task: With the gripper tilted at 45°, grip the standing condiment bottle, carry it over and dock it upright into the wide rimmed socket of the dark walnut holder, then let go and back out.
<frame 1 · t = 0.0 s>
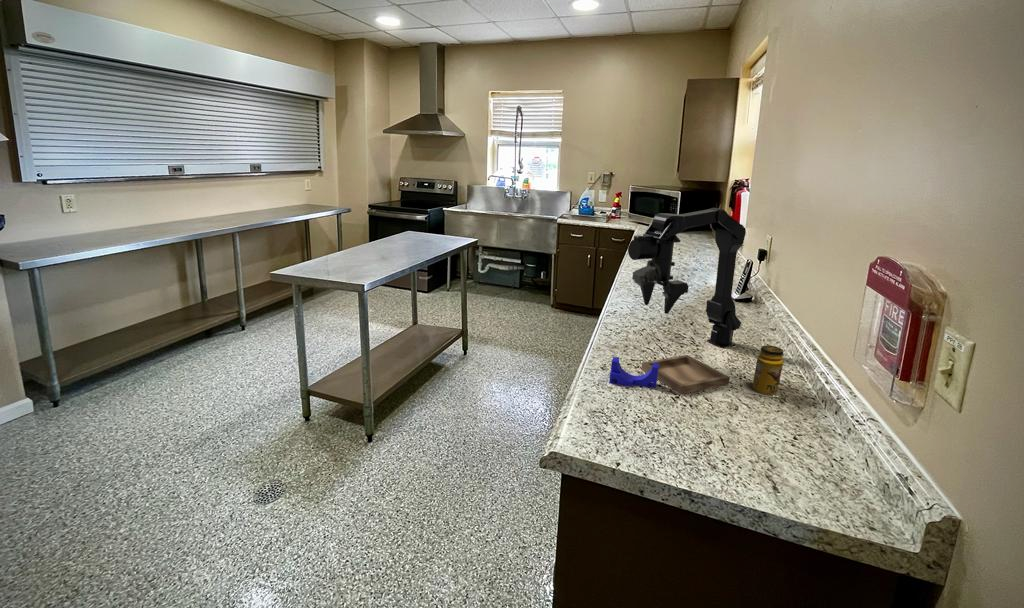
hand: (656, 309, 150), 15 cm above the counter, tool pointing down, fingers open, 9 cm apart
condiment: (760, 390, 133), on the counter
cable clip: (632, 384, 135), on the counter
dock holder: (683, 376, 139), on the counter
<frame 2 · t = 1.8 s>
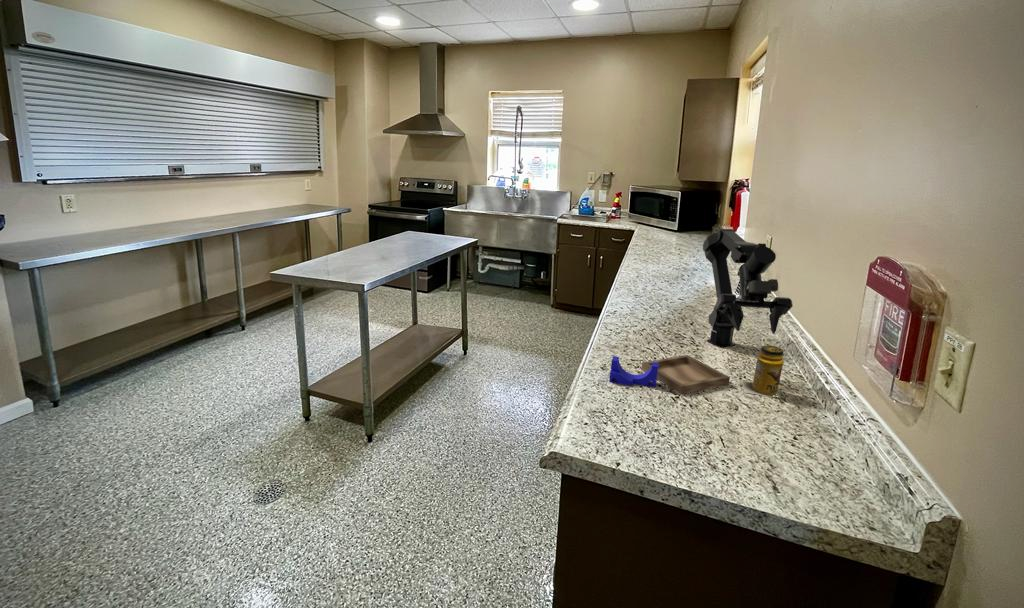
hand: (756, 331, 137), 13 cm above the counter, tool tilted 45°, fingers open, 9 cm apart
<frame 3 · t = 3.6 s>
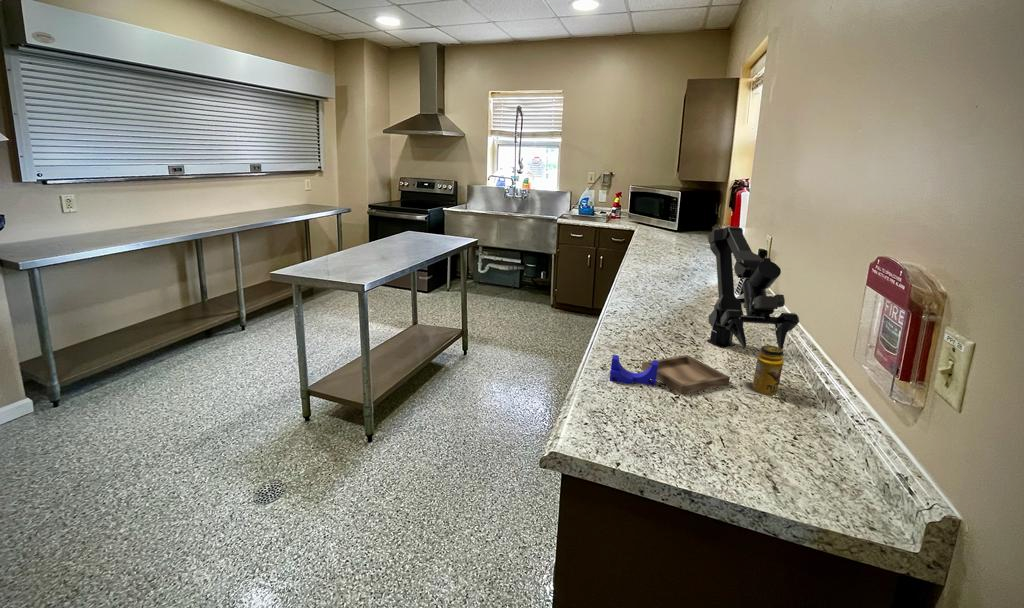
hand: (763, 348, 133), 10 cm above the counter, tool tilted 45°, fingers open, 9 cm apart
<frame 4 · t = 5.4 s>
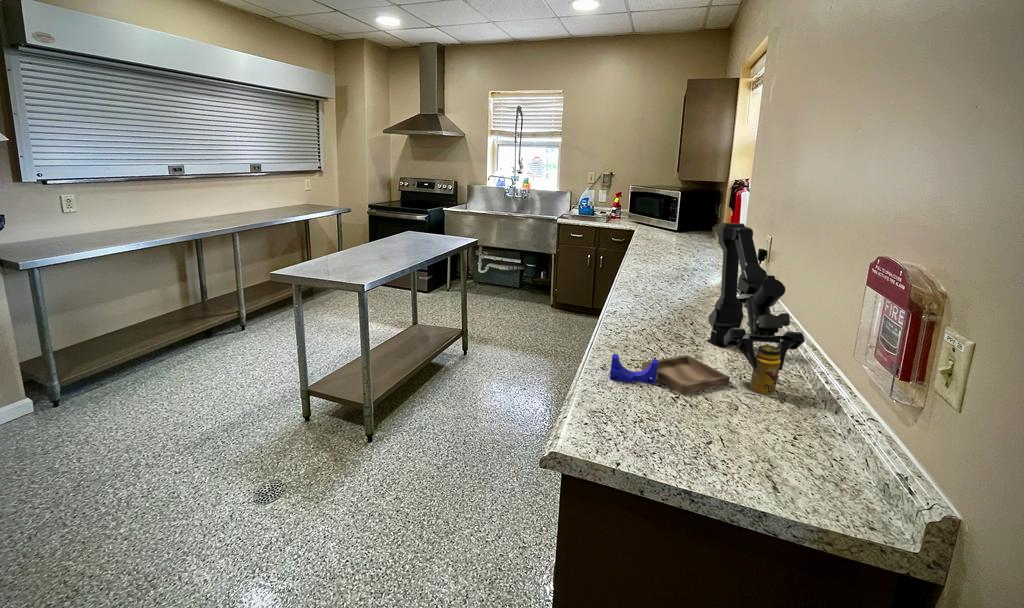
hand: (767, 368, 130), 7 cm above the counter, tool tilted 45°, fingers closed on condiment, 6 cm apart
condiment: (758, 390, 133), on the counter, touching gripper
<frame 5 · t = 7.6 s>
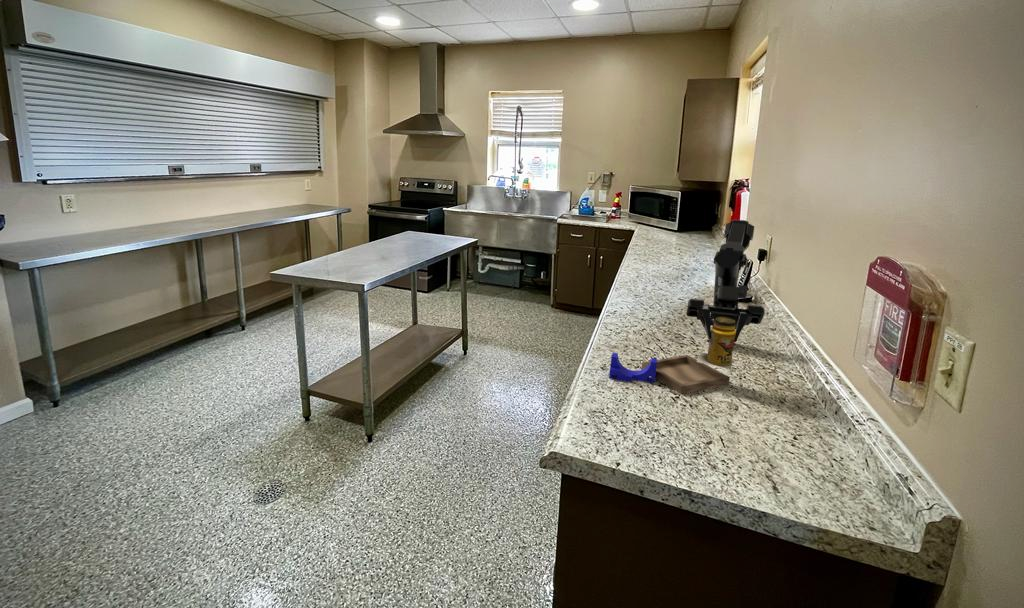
hand: (722, 339, 130), 13 cm above the counter, tool tilted 45°, fingers closed on condiment, 6 cm apart
condiment: (715, 361, 134), point 6 cm above the counter, touching gripper
when the fingers open (8 cm above the counter, at t = 9.8 s): condiment stays where it is, resting on dock holder.
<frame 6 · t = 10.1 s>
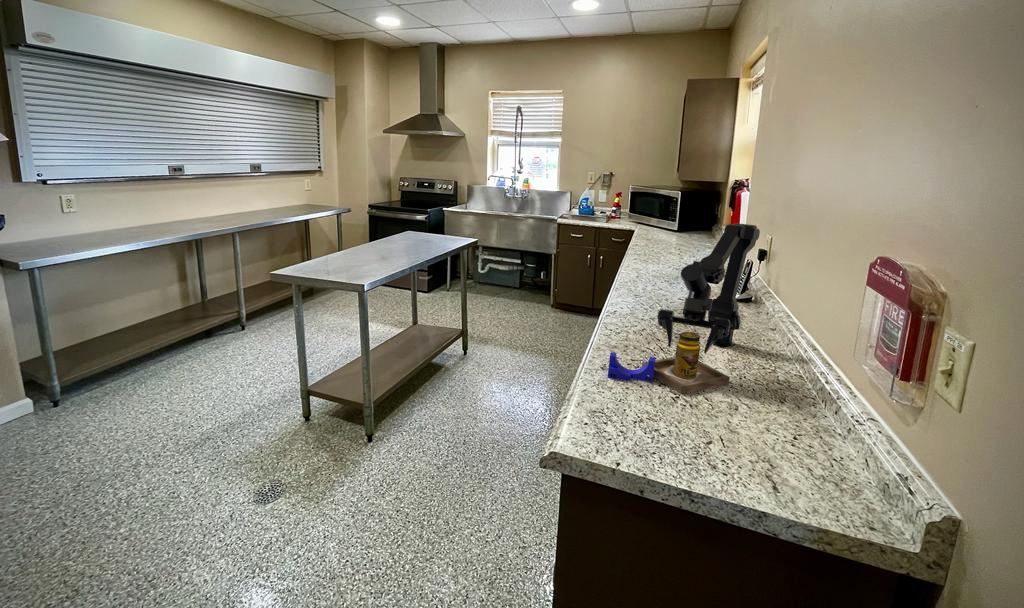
hand: (686, 349, 136), 9 cm above the counter, tool tilted 45°, fingers open, 9 cm apart
condiment: (681, 374, 140), resting on dock holder
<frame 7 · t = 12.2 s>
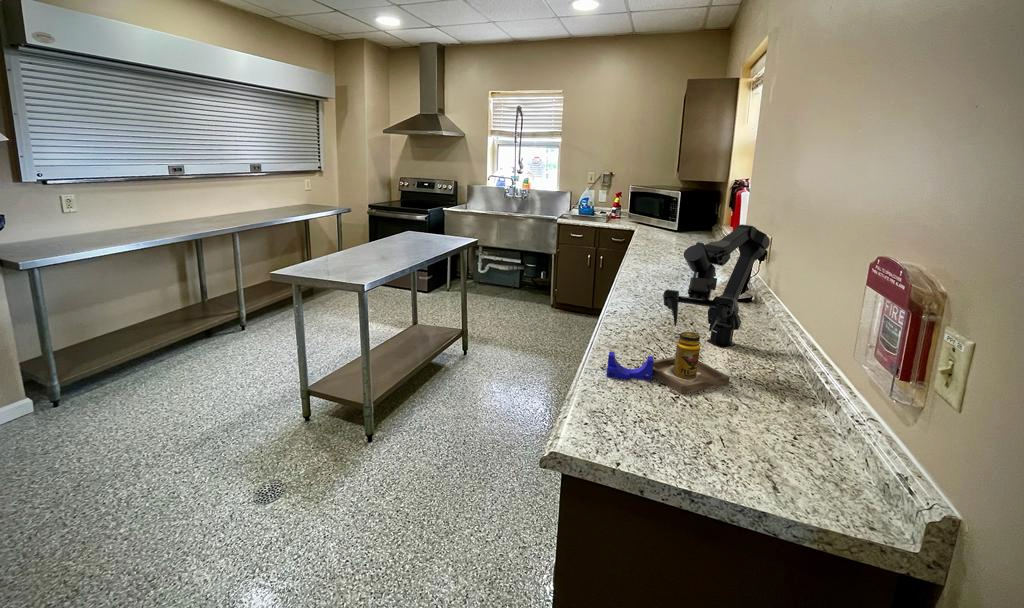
hand: (692, 328, 140), 13 cm above the counter, tool tilted 45°, fingers open, 9 cm apart
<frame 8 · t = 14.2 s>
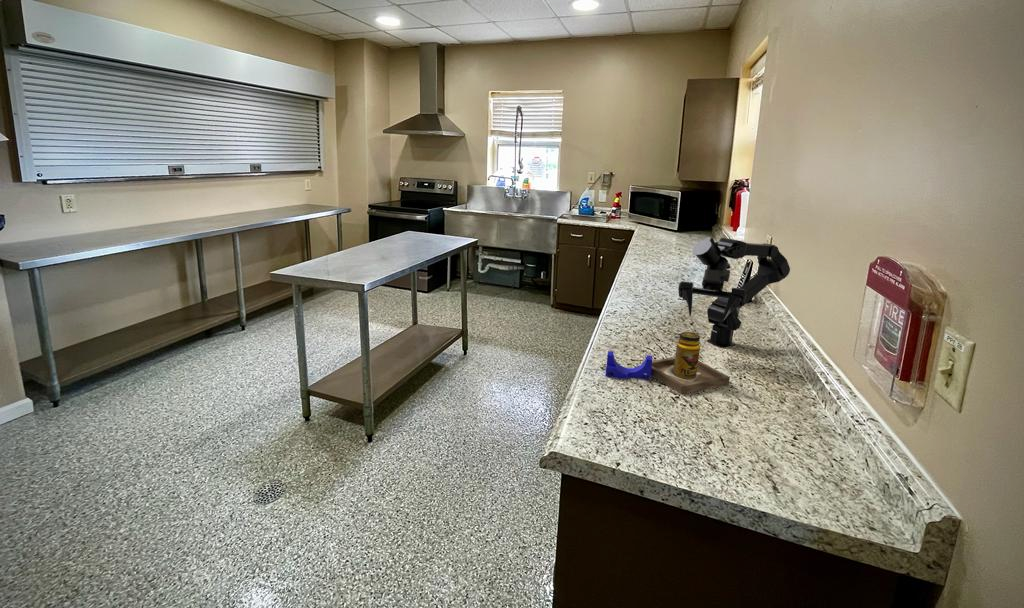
hand: (706, 317, 147), 14 cm above the counter, tool tilted 45°, fingers open, 9 cm apart
at the end: condiment inside the target area on the dock holder (0.8 cm from its centre), point 0.4 cm above the dock holder's base; condiment tilted 0°; the gripper is holding nothing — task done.
